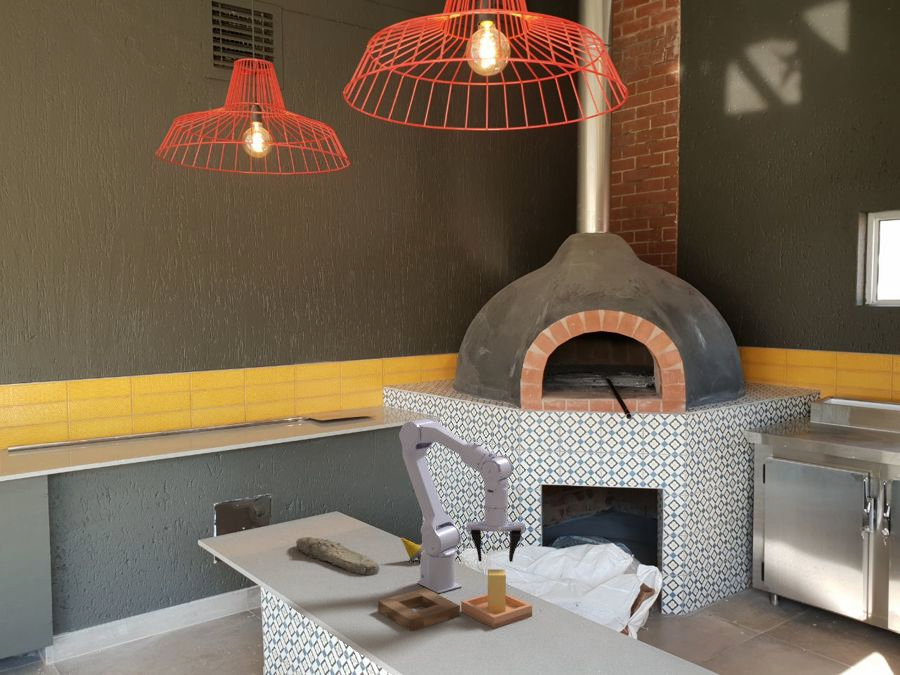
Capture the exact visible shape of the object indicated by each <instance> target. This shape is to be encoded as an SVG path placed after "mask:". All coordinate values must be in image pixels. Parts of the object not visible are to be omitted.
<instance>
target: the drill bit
mask: <svg viewBox="0 0 900 675" xmlns="http://www.w3.org/2000/svg"><path fill="white" fill-rule="evenodd" d="M400 539H401V542H402V544H403V546H404V548H405V550H406V552H407V555H408V557H409V561H410V563H413V562H414V561H415V560H416V559H417V560H418V561H420V559H421V556H422V553H423V552H424V551H425V550H424V548H423V545H419V544H416V543H414V542H413V541H410V540H408V539H406V538H404V537H402V536H400Z"/></svg>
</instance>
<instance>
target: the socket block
mask: <svg viewBox="0 0 900 675" xmlns="http://www.w3.org/2000/svg"><path fill="white" fill-rule="evenodd" d="M418 607H424V608H422V609H419V610H413V609H415V608H418ZM377 612H379V613H381V614H382V615H384V616H386V617H387V618H389V619H391V620H392V621H394V622H396V623H397V624H399V625H400V626H402V627H404V628H406V629H407V630H408V631H410V632H413V631H415V630H420V629H422V628H425V627H430V626H433V625H436V624H440V623H442V622H445V621H448V620H452V619H455V618H459V617H460V616H461V604H458V603H455V602H453V601H452V600H449V599H447V598H445V597H444V596H442V595H440V594H439V593H436V592H434V591H432V590H430V589H428V588H427V587H424V588H421V589H417V590H413V591H409V592H406V593H401V594H398V595H395V596H390V597H386V598H383V599H380V600H378V601H377Z"/></svg>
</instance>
